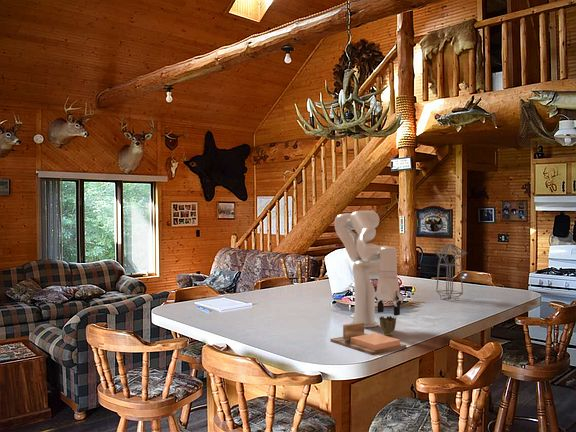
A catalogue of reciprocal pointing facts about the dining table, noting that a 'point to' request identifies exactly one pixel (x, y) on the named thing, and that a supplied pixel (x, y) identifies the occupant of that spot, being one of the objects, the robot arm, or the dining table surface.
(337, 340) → the walnut board
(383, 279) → the robot arm
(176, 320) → the dining table surface
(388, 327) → the cup
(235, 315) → the dining table surface
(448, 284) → the geometric lantern
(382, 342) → the tile
